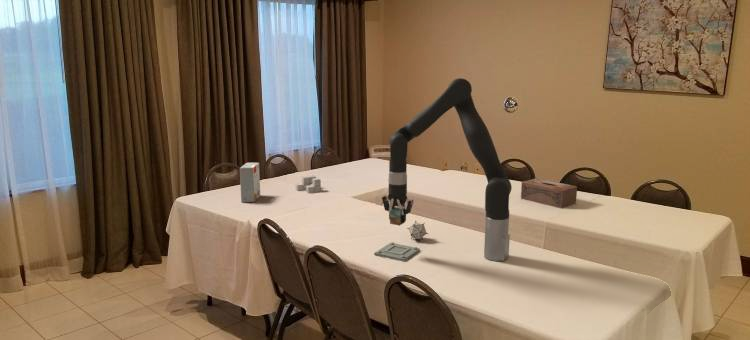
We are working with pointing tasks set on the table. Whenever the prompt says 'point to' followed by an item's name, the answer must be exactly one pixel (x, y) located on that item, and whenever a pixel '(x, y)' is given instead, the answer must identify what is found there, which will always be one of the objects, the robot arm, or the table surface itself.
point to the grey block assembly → (309, 184)
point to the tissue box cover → (549, 193)
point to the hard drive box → (250, 182)
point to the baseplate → (397, 251)
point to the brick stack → (395, 216)
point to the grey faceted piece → (417, 231)
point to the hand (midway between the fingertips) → (397, 221)
